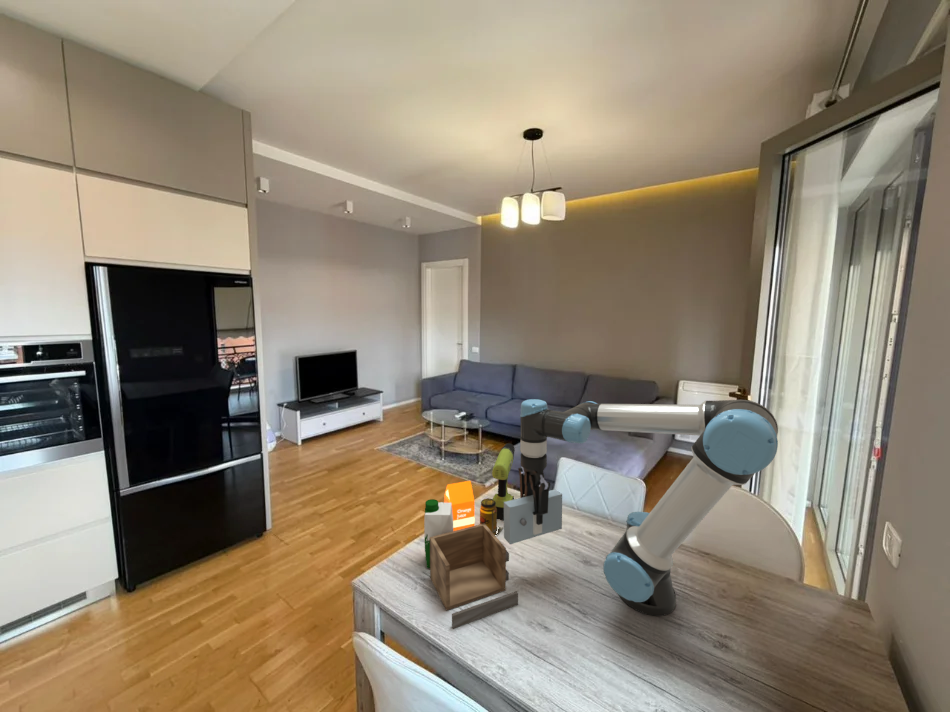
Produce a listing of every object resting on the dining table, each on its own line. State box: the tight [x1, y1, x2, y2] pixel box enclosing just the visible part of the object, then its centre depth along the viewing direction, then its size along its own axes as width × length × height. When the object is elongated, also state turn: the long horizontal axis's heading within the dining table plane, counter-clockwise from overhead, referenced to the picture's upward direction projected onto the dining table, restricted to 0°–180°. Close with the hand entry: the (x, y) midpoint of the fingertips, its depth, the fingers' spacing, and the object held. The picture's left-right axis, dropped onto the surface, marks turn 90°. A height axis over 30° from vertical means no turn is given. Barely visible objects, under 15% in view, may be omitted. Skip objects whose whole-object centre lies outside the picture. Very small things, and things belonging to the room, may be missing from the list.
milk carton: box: [423, 498, 453, 569], centre depth 122 cm, size 9×9×20 cm
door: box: [503, 489, 563, 545], centre depth 113 cm, size 5×18×11 cm, turn 115°
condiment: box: [479, 498, 504, 535], centre depth 139 cm, size 7×8×12 cm
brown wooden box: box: [429, 523, 519, 629], centre depth 110 cm, size 20×20×13 cm
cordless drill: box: [491, 442, 516, 521], centre depth 154 cm, size 23×7×25 cm, turn 164°
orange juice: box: [443, 480, 476, 531], centre depth 135 cm, size 8×9×20 cm
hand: (533, 529), depth 114 cm, fingers closed on door, 3 cm apart
